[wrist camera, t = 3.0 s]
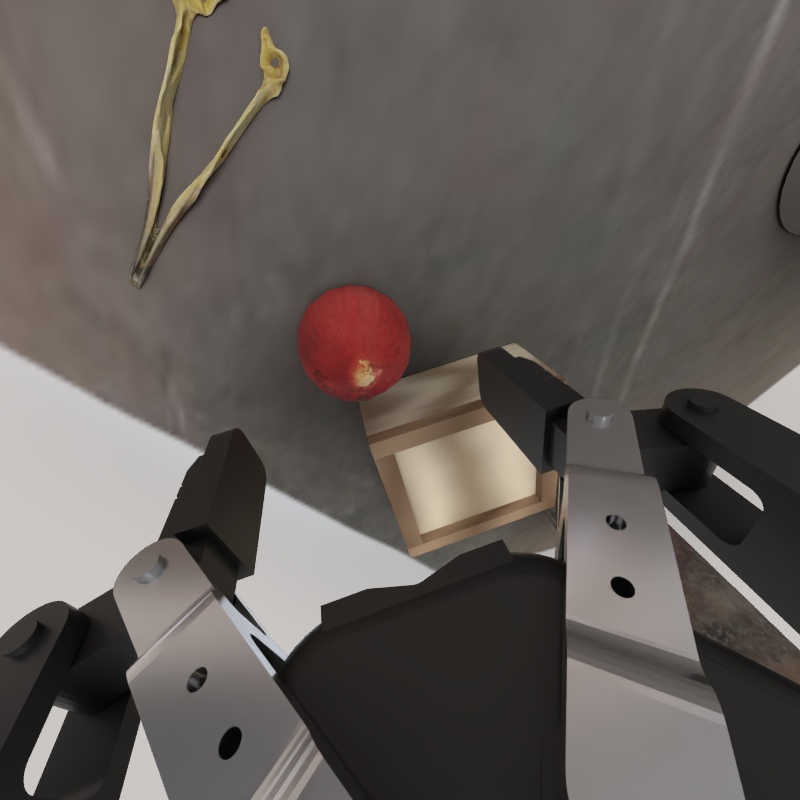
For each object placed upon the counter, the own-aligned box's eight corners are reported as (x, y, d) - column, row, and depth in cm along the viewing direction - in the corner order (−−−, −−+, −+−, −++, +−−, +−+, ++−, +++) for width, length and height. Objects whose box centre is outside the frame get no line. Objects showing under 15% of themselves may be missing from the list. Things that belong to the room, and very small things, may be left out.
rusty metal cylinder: (549, 506, 36) (750, 768, 20) (511, 485, 32) (718, 785, 16) (604, 460, 34) (883, 711, 17) (570, 432, 30) (880, 716, 14)
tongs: (112, 275, 17) (91, 282, 15) (195, -30, 13) (179, -67, 11) (202, 314, 18) (192, 324, 17) (298, 60, 14) (298, 41, 13)
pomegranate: (387, 366, 22) (419, 438, 16) (299, 362, 21) (294, 441, 14) (400, 278, 19) (447, 321, 13) (299, 265, 18) (293, 307, 11)
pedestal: (514, 342, 24) (566, 379, 19) (516, 457, 30) (554, 506, 26) (356, 392, 23) (368, 445, 18) (394, 499, 29) (410, 557, 25)
